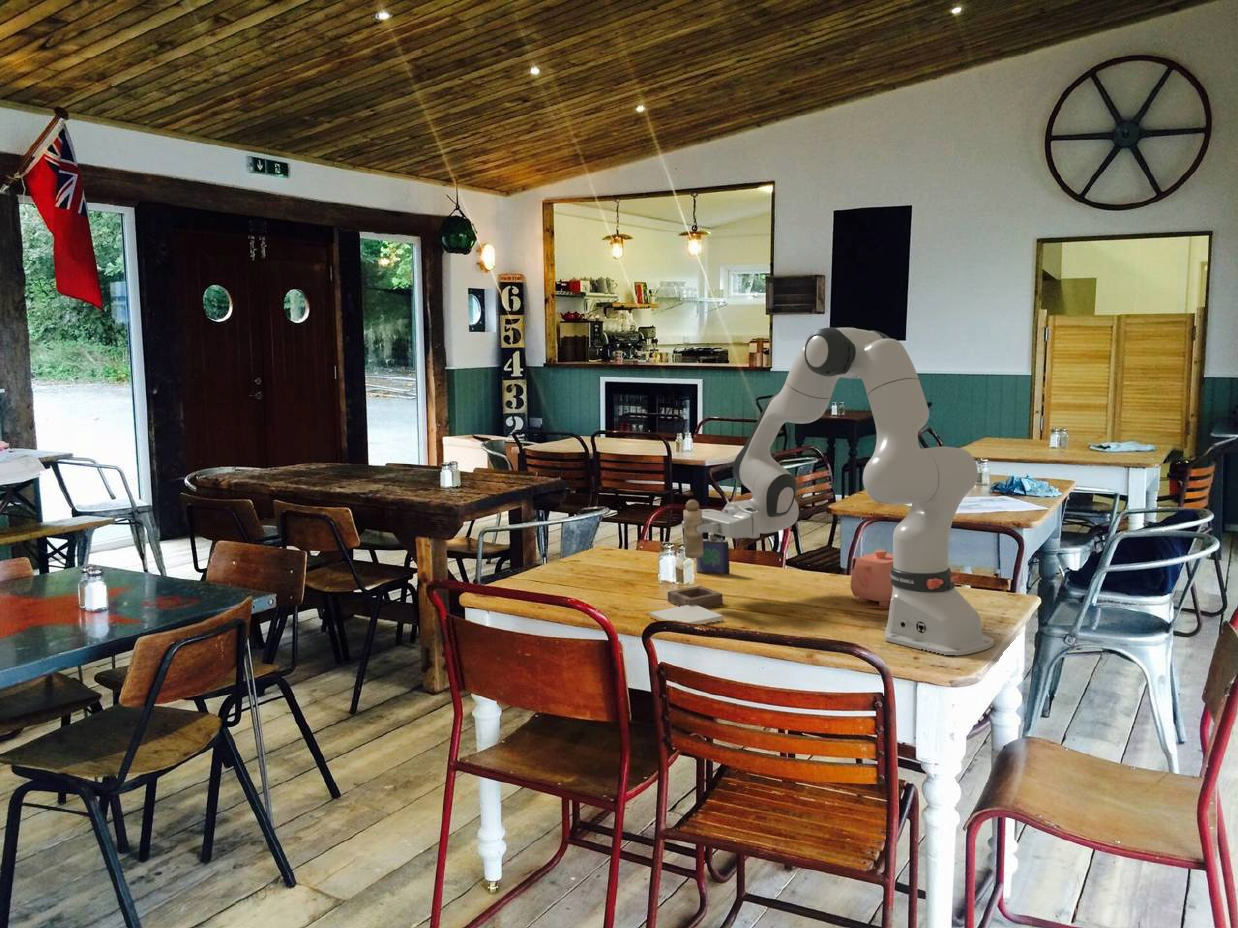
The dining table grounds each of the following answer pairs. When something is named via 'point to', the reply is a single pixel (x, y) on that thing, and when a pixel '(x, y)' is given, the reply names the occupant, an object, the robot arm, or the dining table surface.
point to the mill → (692, 530)
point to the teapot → (873, 578)
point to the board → (688, 614)
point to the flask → (714, 556)
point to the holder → (695, 597)
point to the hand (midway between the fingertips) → (690, 527)
